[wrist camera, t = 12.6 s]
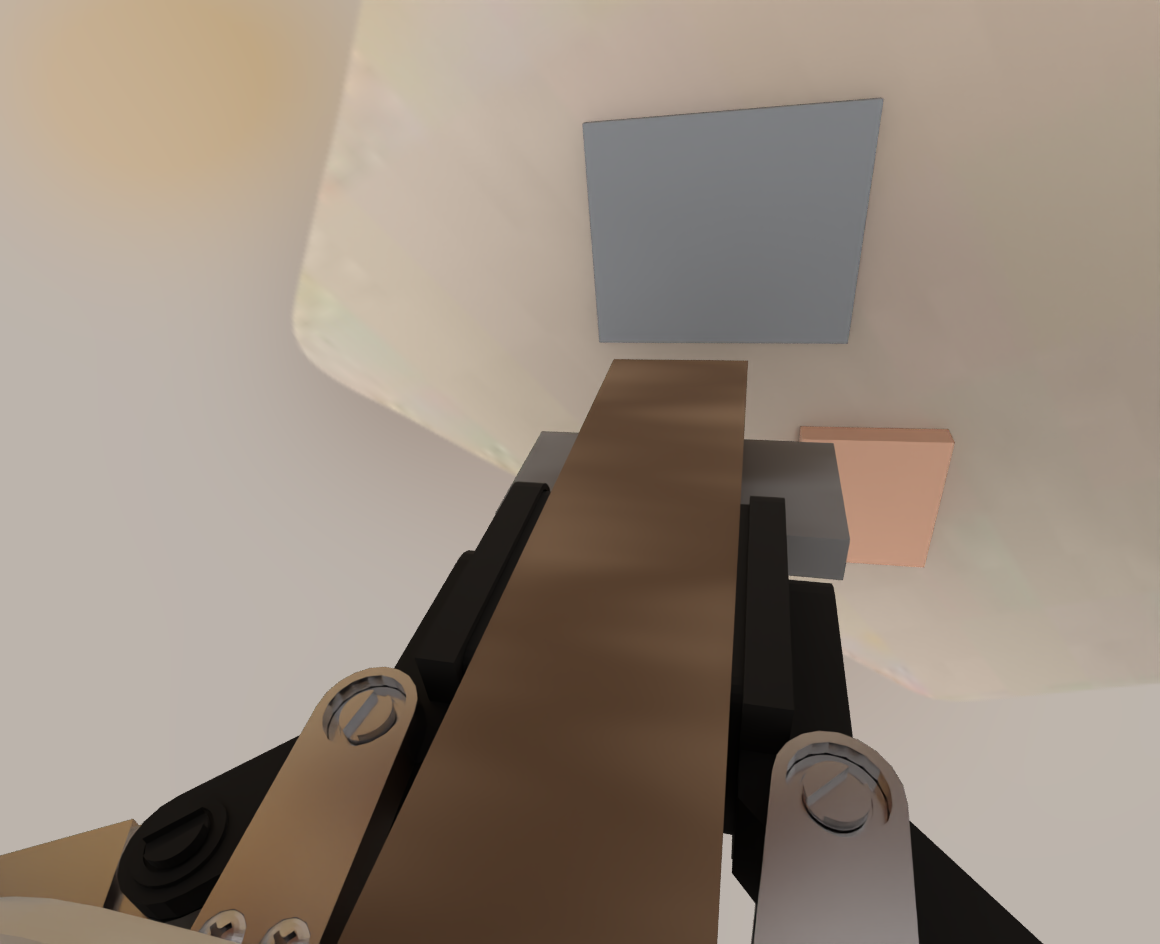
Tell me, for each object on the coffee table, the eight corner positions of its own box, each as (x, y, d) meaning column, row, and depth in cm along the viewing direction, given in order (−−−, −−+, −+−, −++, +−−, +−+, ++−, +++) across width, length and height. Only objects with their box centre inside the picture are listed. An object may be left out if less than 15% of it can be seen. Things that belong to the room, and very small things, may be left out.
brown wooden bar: (845, 361, 13) (1263, 2027, 2) (828, 479, 15) (1016, 1782, 4) (531, 358, 15) (-143, 1277, 4) (546, 464, 17) (101, 1328, 6)
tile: (954, 442, 31) (924, 567, 35) (946, 425, 32) (917, 546, 36) (801, 439, 32) (790, 558, 37) (800, 422, 34) (789, 539, 38)
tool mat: (881, 97, 25) (883, 98, 24) (846, 338, 30) (847, 343, 30) (585, 122, 28) (582, 123, 27) (601, 337, 33) (599, 342, 33)
